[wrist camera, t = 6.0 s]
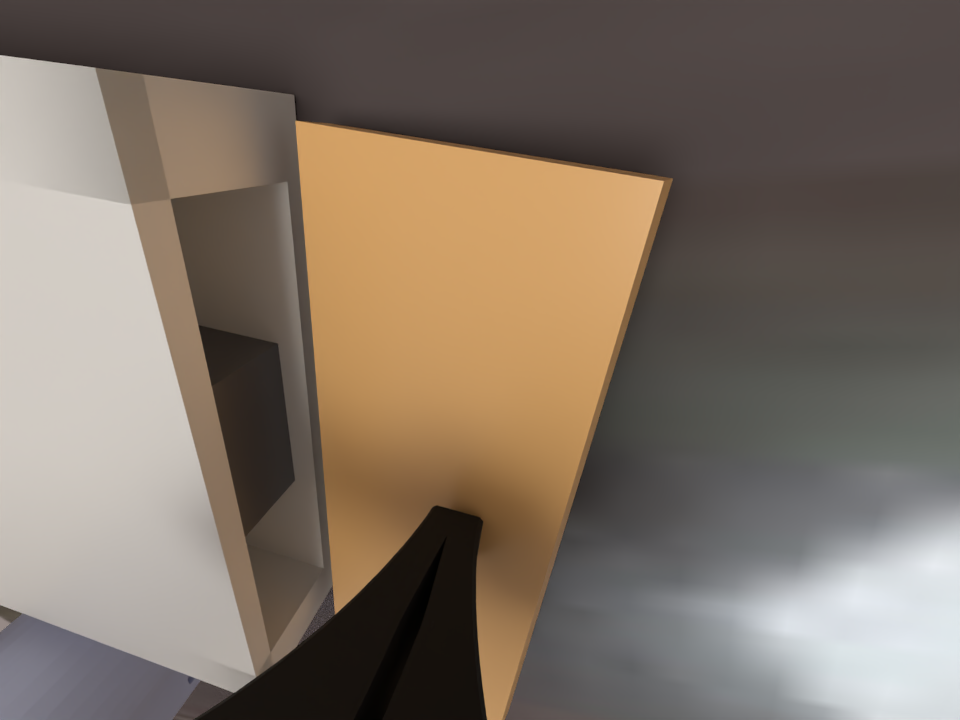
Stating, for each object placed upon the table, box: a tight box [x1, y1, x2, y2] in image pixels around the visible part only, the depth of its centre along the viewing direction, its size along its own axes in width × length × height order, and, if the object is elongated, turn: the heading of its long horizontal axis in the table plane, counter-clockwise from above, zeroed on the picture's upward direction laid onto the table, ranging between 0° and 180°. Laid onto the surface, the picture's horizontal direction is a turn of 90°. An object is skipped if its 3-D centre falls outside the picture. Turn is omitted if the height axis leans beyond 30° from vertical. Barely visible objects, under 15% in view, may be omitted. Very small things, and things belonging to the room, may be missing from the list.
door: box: [295, 121, 673, 720], centre depth 13 cm, size 19×1×8 cm
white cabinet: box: [0, 55, 333, 693], centre depth 15 cm, size 20×14×5 cm
